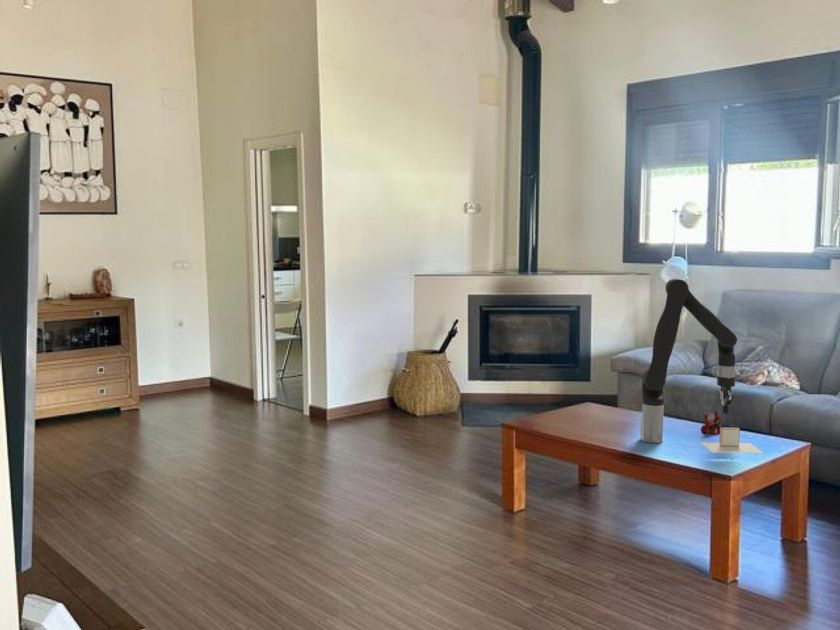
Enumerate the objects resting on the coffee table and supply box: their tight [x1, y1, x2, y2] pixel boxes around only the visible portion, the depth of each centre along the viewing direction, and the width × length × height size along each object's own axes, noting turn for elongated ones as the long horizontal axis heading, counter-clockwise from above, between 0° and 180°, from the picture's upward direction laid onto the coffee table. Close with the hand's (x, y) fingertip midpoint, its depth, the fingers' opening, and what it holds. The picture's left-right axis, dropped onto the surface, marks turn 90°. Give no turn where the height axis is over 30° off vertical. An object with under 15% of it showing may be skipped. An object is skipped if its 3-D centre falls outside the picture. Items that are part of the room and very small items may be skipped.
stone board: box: [700, 442, 764, 454], centre depth 345 cm, size 22×16×1 cm
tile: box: [718, 427, 741, 446], centre depth 347 cm, size 8×2×8 cm, turn 88°
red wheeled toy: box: [700, 411, 725, 435], centre depth 372 cm, size 7×12×10 cm, turn 129°
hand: (725, 413), depth 353 cm, fingers closed
